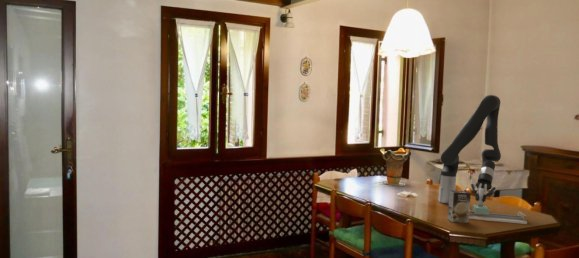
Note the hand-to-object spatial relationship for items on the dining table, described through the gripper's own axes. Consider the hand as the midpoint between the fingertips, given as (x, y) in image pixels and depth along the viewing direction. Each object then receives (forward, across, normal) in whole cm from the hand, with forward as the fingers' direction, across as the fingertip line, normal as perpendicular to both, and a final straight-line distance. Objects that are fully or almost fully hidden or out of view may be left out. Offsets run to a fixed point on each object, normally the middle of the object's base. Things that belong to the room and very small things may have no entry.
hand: (480, 200), depth 249 cm
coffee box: (+19, -8, -5) cm, 21 cm away
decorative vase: (-37, -72, +50) cm, 96 cm away
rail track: (+4, +7, +9) cm, 13 cm away
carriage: (+4, +1, +5) cm, 7 cm away
